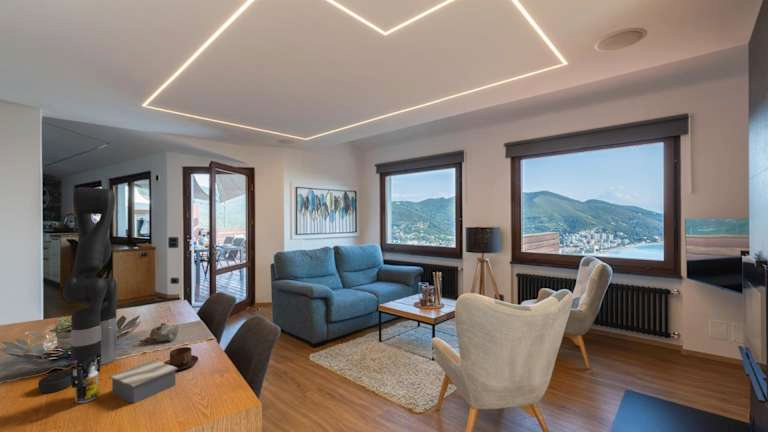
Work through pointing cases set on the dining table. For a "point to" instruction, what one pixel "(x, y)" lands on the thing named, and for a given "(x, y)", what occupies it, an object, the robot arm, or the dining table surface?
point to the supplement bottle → (89, 387)
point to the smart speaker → (54, 382)
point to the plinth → (143, 381)
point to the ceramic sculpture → (162, 334)
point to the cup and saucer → (181, 358)
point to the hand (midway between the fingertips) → (86, 392)
